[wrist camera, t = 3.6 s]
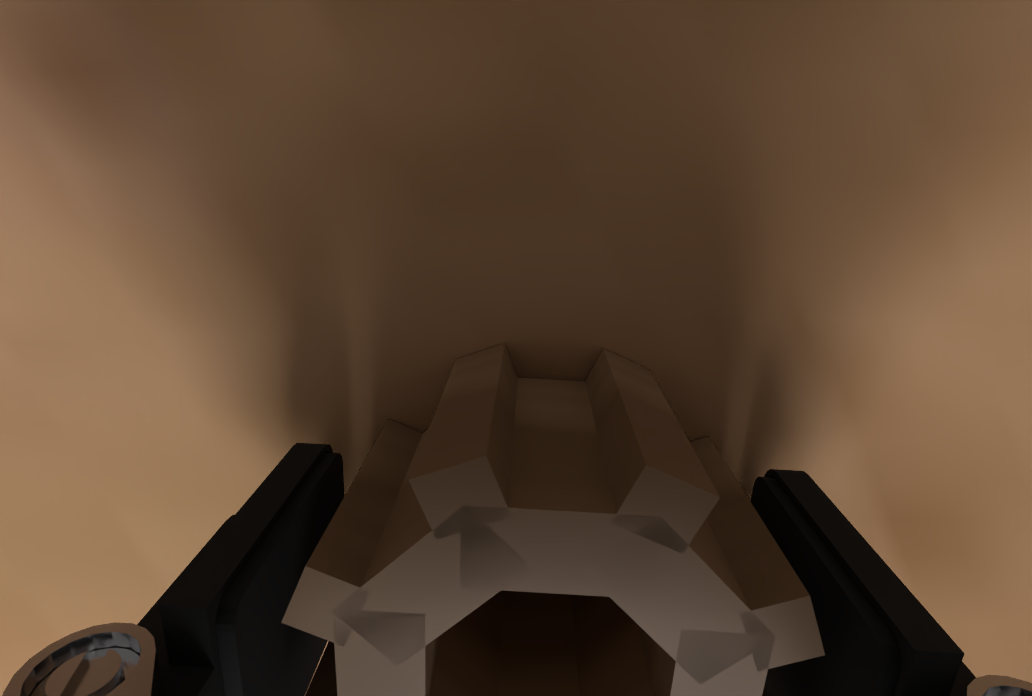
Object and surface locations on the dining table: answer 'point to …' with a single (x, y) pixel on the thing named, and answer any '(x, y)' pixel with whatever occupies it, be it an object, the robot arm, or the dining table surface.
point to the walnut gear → (549, 552)
